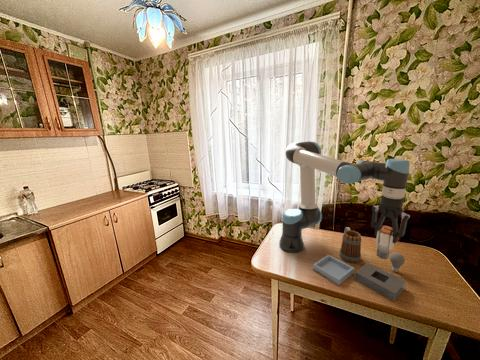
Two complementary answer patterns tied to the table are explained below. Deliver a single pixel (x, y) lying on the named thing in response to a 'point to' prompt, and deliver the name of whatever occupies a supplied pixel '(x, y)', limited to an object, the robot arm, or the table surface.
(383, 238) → the pin
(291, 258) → the table surface
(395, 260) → the light bulb
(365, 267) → the hitch block
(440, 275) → the table surface
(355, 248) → the mug
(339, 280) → the tray
